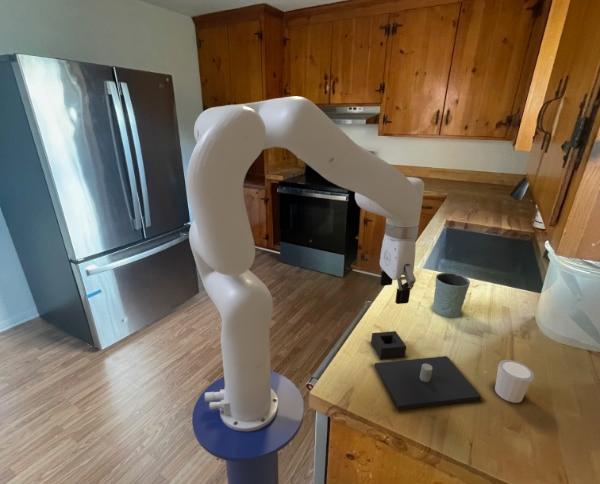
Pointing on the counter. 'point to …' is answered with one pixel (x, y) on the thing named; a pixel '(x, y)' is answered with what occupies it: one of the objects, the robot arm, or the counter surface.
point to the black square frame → (388, 345)
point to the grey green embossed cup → (450, 294)
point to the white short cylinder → (513, 380)
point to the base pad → (425, 382)
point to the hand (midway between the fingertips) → (393, 293)
